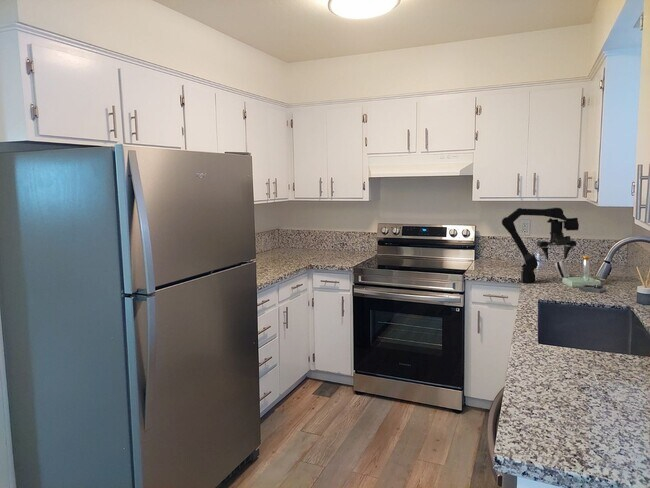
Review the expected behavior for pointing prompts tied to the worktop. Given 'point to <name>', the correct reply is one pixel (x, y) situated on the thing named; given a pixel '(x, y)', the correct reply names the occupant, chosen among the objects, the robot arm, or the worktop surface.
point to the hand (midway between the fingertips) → (556, 259)
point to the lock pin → (585, 267)
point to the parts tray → (580, 281)
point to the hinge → (561, 270)
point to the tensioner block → (592, 288)
